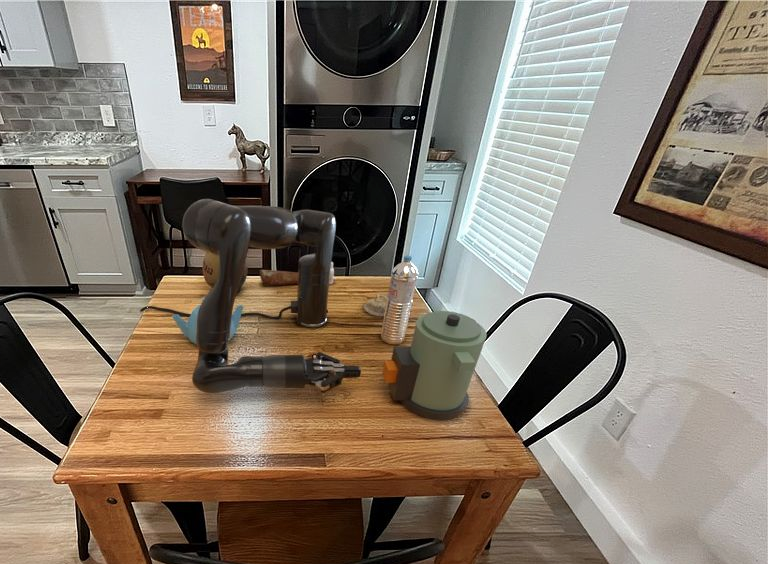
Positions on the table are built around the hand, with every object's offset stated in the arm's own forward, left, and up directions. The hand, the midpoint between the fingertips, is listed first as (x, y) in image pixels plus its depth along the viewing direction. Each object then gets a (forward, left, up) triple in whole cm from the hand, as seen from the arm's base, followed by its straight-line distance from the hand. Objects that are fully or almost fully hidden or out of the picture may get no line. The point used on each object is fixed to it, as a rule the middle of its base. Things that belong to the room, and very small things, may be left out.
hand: (359, 371), depth 87 cm
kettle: (+17, +1, -8) cm, 19 cm away
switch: (+7, 0, -2) cm, 7 cm away
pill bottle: (0, +67, -8) cm, 67 cm away
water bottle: (+15, +26, -8) cm, 31 cm away
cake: (+15, +45, -8) cm, 48 cm away
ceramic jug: (-38, +59, -8) cm, 71 cm away
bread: (-16, +66, -8) cm, 68 cm away
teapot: (-38, +27, -8) cm, 47 cm away
